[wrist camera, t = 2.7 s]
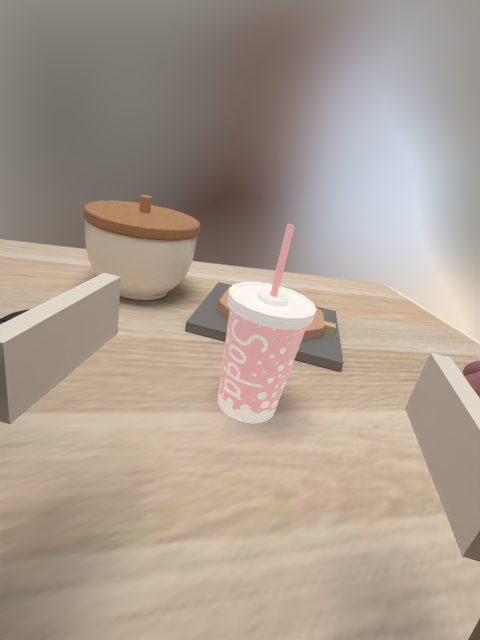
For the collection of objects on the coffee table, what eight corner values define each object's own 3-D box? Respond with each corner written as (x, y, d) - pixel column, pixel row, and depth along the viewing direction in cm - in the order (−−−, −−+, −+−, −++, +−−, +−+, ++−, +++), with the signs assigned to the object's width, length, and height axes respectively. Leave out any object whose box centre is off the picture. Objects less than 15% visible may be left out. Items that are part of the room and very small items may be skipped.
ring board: (185, 330, 38) (187, 311, 37) (217, 289, 51) (220, 273, 50) (340, 371, 36) (347, 352, 36) (333, 318, 49) (338, 302, 48)
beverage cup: (193, 389, 29) (224, 209, 24) (253, 374, 33) (293, 216, 27) (236, 441, 25) (287, 237, 19) (300, 418, 29) (359, 240, 23)
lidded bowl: (209, 294, 48) (223, 208, 44) (140, 321, 38) (150, 212, 33) (136, 265, 53) (143, 184, 48) (57, 282, 43) (56, 181, 38)
